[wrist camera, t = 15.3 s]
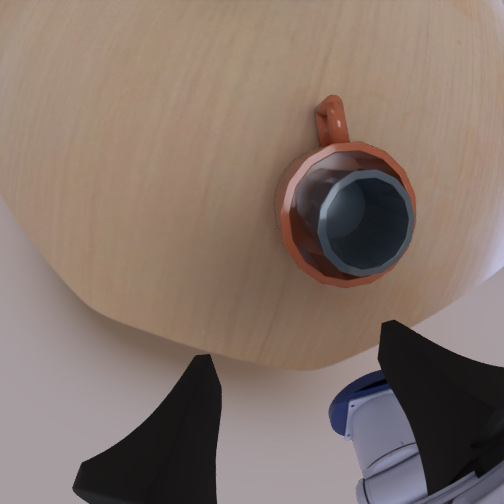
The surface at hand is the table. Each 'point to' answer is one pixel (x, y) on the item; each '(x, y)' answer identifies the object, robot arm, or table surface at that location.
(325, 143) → the mug
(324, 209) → the grey handleless cup
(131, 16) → the table surface
